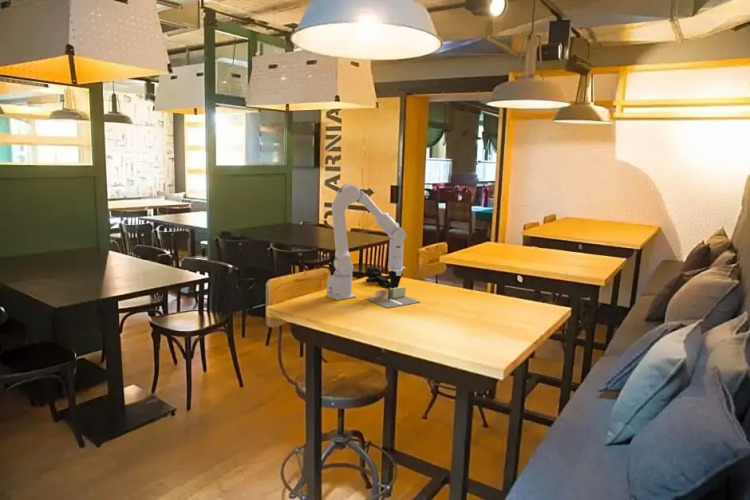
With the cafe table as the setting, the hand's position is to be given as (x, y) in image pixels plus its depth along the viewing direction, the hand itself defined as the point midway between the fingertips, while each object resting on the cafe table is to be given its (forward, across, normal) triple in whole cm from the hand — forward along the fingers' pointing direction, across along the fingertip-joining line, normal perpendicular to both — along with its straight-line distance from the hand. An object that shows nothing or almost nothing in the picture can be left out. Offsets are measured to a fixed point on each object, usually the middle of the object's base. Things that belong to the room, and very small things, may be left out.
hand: (394, 289), depth 219 cm
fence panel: (+2, -5, 0) cm, 6 cm away
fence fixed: (+2, -9, +6) cm, 11 cm away
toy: (+3, +17, +3) cm, 18 cm away
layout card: (+2, -9, +2) cm, 10 cm away
